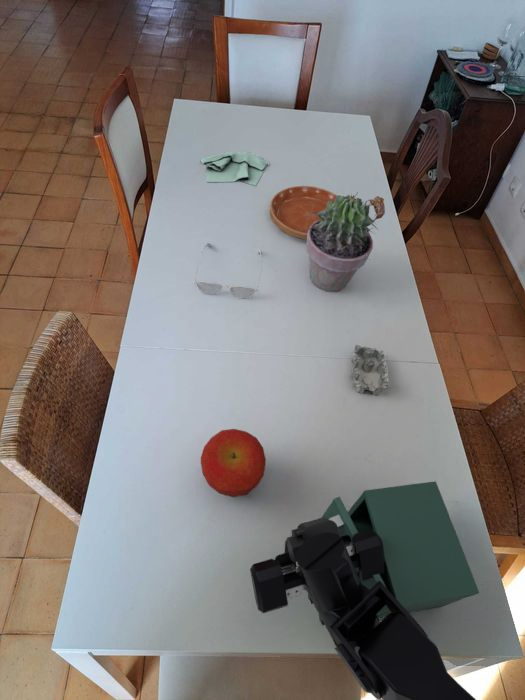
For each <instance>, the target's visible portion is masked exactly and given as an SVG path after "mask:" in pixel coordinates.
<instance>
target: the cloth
mask: <svg viewBox="0 0 525 700" xmlns="http://www.w3.org/2000/svg"><path fill="white" fill-rule="evenodd" d="M199 161H200V162H201V164H202V165H203V164H204V165H206V166H207V167H206V168H205V177H206V183H235V182H236V181H238V182H241V183H245V184H247V185H250V186H255V187H256V186H257V185H258V183H259V182H260V179H261V178H262V175H263V173H264V171H265V167H266V166H267V165H268V164H269V161H267V160H266V159H265V158H264V157H263V158H262V157H261V156H259V155H257V154H256V153H252V152H247V151H240V152H239V151H238V152H237V151H236V152H234V151H229V152H223V153H217V154H214V155H209V156H206V157H205V158H202V159H200V160H199Z"/></svg>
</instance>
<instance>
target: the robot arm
mask: <svg viewBox="0 0 525 700" xmlns="http://www.w3.org/2000/svg"><path fill="white" fill-rule="evenodd" d="M352 541H353V543H354V544H352V543H351V538H350V536H349V535H344V536H341V537H340V535H339V531H338V527H337V524H336V523H335V522H334V521H332V520H329V519H327V518H324V517H322V516H321V517H319V518H316V519H313V520H309V521H306V522H305V521H304V522H302V523H300V524H298V526H297V528H294V529H291V535H290V536H287V537H286V539H285V541H284V553H280V554H278V555H276V556H275V558H269V559H266V560H263V561H258V562H256V563H253V564H252V565H251V567H250V568H249V571H250V577H251V582H252V590H253V594H254V599H255V604H256V607H257V610H258V612H261V613H262V614H266V613H269V612H272V611H276V610H279V609H283V608H285V607H288V606H289V601H288V600H289V599H290V600H291V599H294V598H296V597H299V596H300V595H301V594H302V591H303V590H305V591H306V592H307V595H308V600H309V603H310V604H311V605H312V604H313V605H314V607H315V609H316V611H317V613H318V618H319V622H320V623H321V626H325V628H326V630H327V632H328V635H329V636H330V638H331V639H332V641H333V643H334V645H335V648H334V650H335V651H336V653H337V654H338V656H339V657H340V659H341V660H342V662H343V663H344V664H345V666H346V667H347V669H348V670H349V671H350V673H351V674H352V676H353V677H354V679H355V680H356V681H357V683H358V685H359V686H360V687H361V689H362V690H363V691H364V692H365V693H367V694H371V695H372V696H373V697H374V698H375V699H376V700H381V699H382V700H477V699H476V698H475V697H474V696H473V695H472V694H471V693H470V692H469V691H467V690H466V689H465V688H464V687H463V686H462V685H461V684H460V683H459V682H458V681H457V680H456V679H455V678H454V677H453V676H452V675H451V674H450V673H449V672H448V671H447V668H446V666H445V665H446V664H445V663H444V660H443V658H442V655H441V653H440V650H439V648H438V645H436V644H435V643H434V641H432V639H430V638H429V636H428V634H427V632H426V630H424V628H423V627H422V626H421V625H420V623H419V622H418V621H417V620H415V618H414V617H413V615H411V613H408V611H407V610H406V609H405V608H404V607H403V606H402V605H401V604H400V603H399V601H398V600H397V599H396V598H395V597H394V596H393V595H392V594H391V593H390V591H389V590H388V589H387V588H386V587H385V586H384V585H383V584H382V583H381V582H380V581H378V582H377V583H376V584H374V585H373V586H372V587H371V588H370V589H368V588H367V587H365V586H364V585H363V584H362V583H361V582H363V581H366V580H369V579H371V578H373V575H376V574H380V576H382V575H383V574H384V573H385V570H386V564H385V556H384V548H383V542H382V540H381V538H380V536H379V535H378V534H377V533H376V532H375V531H373V530H372V529H370V530H367V531H363V532H360V533H356V534H354V536H353V538H352ZM355 568H359V571H358V573H357V572H356V570H355ZM385 604H386V606H387V607H388V609H389V610H390V611H391V613H389V614H388V615H387V616H386V617H383V619H382V620H380V618H378V617H377V615H376V614H377V613H378V612H379V611H380V610H381V609H382V608H383V607H384V606H385Z"/></svg>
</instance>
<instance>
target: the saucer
mask: <svg viewBox="0 0 525 700" xmlns="http://www.w3.org/2000/svg"><path fill="white" fill-rule="evenodd" d="M337 196H338V194H336V193H333V192H331V191H329V190H327V189H324V188H320V187H317V186H309V185H298V186H297V185H296V186H291V187H287V188H284V189H281V190H280V191H279V192H277V193H276V194H274V196H273V197H272V198H271V201H270V204H269V216H270V218H271V221H272V222H273V223H274V224H275V225H276V227H277V228H278V229H280V230H281V231H282V232H284V233H286V234H287V235H290V236H292V237H295V238H298V239H302V240H306V241H307V234H308V230H306V229H309V228H310V226H311V225H312V224H313V223H314V222H316V221H318V220H320V219H321V218H320V217H319V216H318V214H314V213H319V212H321V211H323V210H325V209H326V208H327V203H328V201H333V202H334V201H335V199H336V197H337ZM307 214H310V215H307ZM316 217H318V218H316ZM299 229H300V230H299ZM304 230H306V231H304Z"/></svg>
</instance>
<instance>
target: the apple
mask: <svg viewBox="0 0 525 700" xmlns="http://www.w3.org/2000/svg"><path fill="white" fill-rule="evenodd" d="M266 460H267V458H266V455H265V450H264V447H263V446H262V444H261V442H260V441H259V440H258V437H256V436H254V435H252V434H251V433H249V432H247V431H246V430H241V429H238V428H230V429H222V430H220V431H218V433H216V434H214V435H213V436H211V437H210V439H209V440H208V441H207V443H206V444H205V445H204V446H203V449H202V453H201V455H200V466H201V471H202V476H203V477H204V480H205V481H206V483H207V485H208V486H209V487H210V488H211V489H213V490H214V491H215V492H216V493H218V494H219V495H224V496H227V497H231V498H237V497H241V496H246V495H248V494H249V493H251V492H252V491H253V490H255V489H256V488H257V487H258V485H259V484H260V482H261V481H262V479H263V478H264V476H265V470H266Z"/></svg>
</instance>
